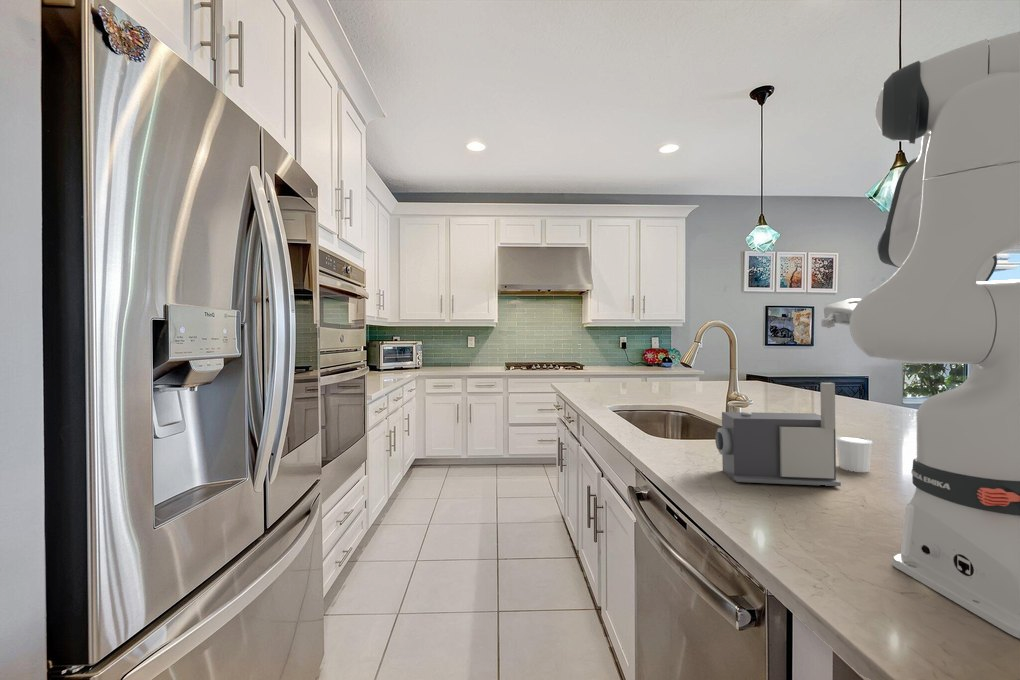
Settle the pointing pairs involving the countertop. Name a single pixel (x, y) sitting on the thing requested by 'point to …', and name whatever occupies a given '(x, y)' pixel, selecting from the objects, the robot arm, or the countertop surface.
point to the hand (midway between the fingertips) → (844, 328)
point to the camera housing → (762, 446)
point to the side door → (811, 443)
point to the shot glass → (854, 453)
